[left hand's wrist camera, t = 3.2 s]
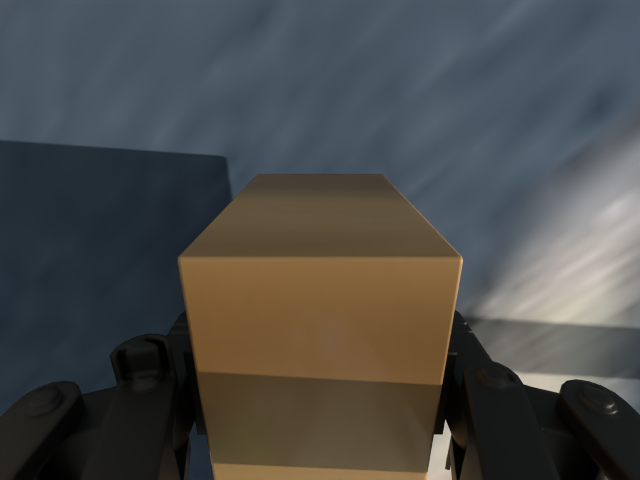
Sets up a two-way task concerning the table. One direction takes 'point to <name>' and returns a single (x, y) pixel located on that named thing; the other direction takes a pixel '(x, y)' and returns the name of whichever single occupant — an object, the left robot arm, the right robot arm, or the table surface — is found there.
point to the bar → (320, 329)
